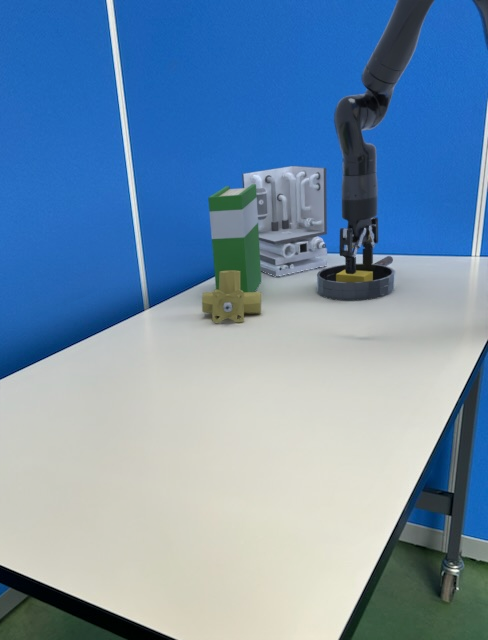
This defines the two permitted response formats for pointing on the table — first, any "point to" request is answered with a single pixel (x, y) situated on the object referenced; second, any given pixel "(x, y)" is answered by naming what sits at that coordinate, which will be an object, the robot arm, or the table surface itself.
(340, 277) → the sponge
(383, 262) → the pan handle
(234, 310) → the ball valve
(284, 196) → the grey pipe machine model
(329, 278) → the pan
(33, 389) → the table surface
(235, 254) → the hardback book
